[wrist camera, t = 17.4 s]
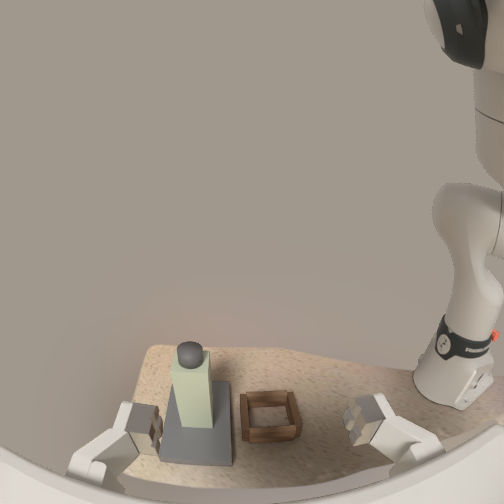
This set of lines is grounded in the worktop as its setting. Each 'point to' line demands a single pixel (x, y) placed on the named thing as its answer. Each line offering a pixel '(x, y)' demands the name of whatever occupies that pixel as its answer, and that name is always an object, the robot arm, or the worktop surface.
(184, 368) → the spice grinder
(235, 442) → the worktop surface
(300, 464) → the worktop surface
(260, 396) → the walnut pocket
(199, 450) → the slate board
